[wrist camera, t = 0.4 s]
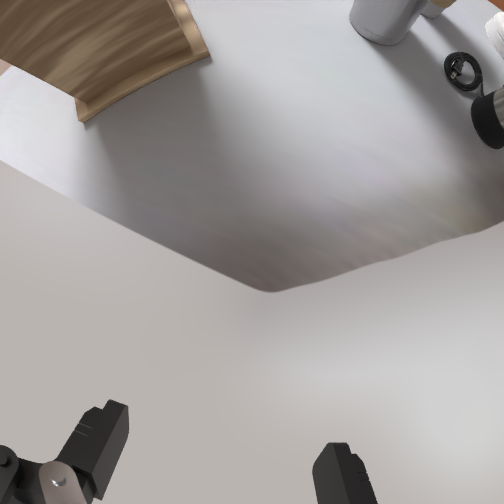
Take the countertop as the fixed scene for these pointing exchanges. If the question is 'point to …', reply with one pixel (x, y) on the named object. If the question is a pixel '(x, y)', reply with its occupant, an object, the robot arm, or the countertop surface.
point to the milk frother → (480, 100)
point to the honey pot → (496, 32)
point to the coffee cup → (436, 7)
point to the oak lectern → (98, 45)
